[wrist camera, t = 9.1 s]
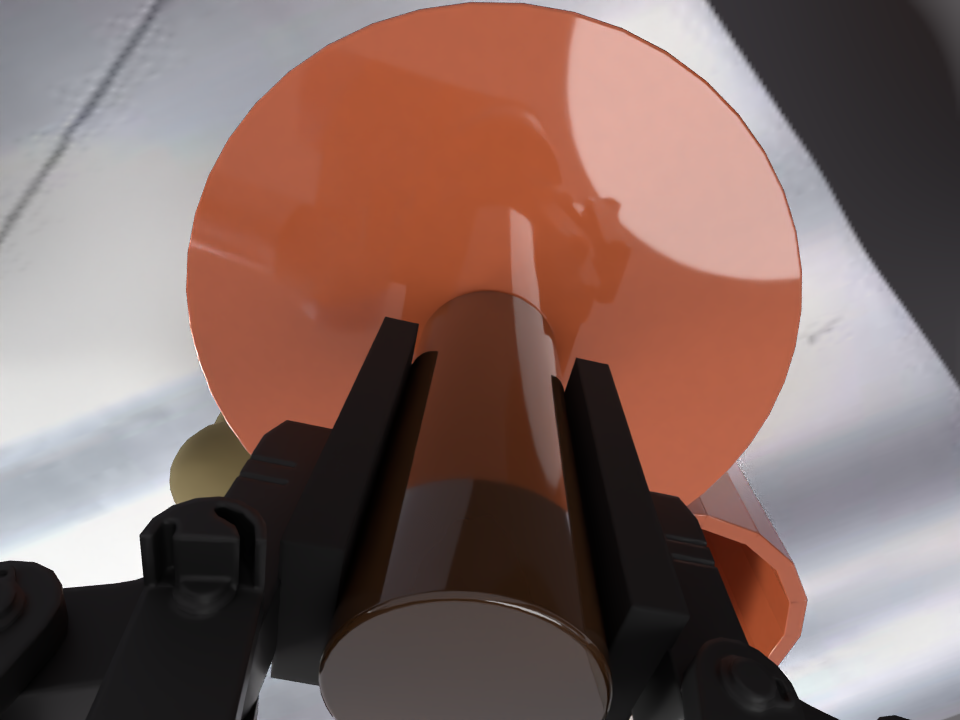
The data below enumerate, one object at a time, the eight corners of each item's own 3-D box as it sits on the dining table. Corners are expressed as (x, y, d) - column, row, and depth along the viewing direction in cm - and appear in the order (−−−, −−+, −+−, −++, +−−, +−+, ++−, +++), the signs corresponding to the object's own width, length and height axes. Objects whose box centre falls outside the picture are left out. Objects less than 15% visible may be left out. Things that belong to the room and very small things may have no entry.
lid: (87, 139, 14) (-687, 295, 5) (752, -116, 11) (1817, -865, 2) (347, 575, 21) (224, 975, 12) (799, 485, 18) (1094, 920, 9)
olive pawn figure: (334, 323, 32) (260, 439, 22) (361, 412, 35) (305, 550, 25) (233, 337, 33) (119, 455, 23) (268, 423, 36) (178, 561, 26)
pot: (466, 419, 35) (452, 550, 26) (714, 358, 32) (798, 480, 23) (530, 580, 41) (536, 732, 32) (741, 540, 39) (815, 693, 29)
